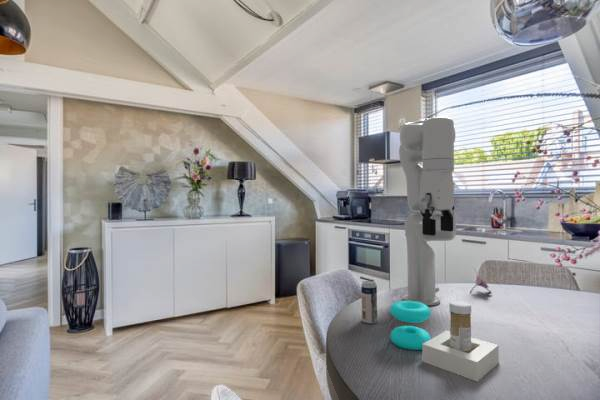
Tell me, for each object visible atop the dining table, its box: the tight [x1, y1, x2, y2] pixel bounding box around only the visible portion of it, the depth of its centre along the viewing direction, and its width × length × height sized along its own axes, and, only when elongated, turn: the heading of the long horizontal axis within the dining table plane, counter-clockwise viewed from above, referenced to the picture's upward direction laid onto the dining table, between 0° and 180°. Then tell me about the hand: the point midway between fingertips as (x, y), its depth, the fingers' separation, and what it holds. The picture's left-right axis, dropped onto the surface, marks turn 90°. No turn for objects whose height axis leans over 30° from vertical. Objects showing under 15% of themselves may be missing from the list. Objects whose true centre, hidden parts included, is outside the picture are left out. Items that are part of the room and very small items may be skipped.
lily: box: [469, 268, 493, 296], centre depth 134 cm, size 12×12×10 cm
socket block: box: [421, 330, 500, 382], centre depth 78 cm, size 12×12×4 cm
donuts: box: [389, 300, 432, 351], centre depth 89 cm, size 10×10×10 cm
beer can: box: [360, 280, 378, 325], centre depth 104 cm, size 5×5×12 cm
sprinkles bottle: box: [448, 300, 472, 353], centre depth 78 cm, size 5×5×14 cm
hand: (438, 232), depth 89 cm, fingers open, 9 cm apart
